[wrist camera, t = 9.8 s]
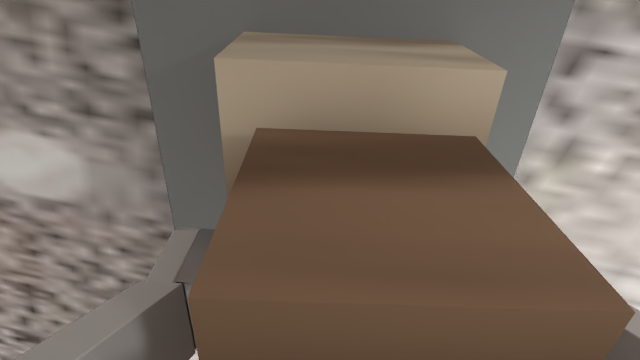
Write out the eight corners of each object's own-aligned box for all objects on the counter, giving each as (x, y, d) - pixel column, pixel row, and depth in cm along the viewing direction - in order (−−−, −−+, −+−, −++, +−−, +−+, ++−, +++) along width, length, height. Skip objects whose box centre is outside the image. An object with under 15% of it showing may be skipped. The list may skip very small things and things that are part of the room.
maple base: (243, 31, 12) (213, 57, 9) (455, 41, 12) (507, 71, 9) (253, 207, 16) (234, 276, 12) (418, 214, 16) (445, 283, 12)
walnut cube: (256, 127, 8) (187, 298, 4) (475, 136, 9) (634, 312, 4) (264, 287, 11) (225, 498, 7) (433, 293, 11) (507, 506, 7)
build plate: (127, -102, 11) (111, -107, 10) (582, -78, 12) (603, -81, 11) (188, 253, 18) (182, 267, 17) (471, 262, 19) (478, 277, 18)
